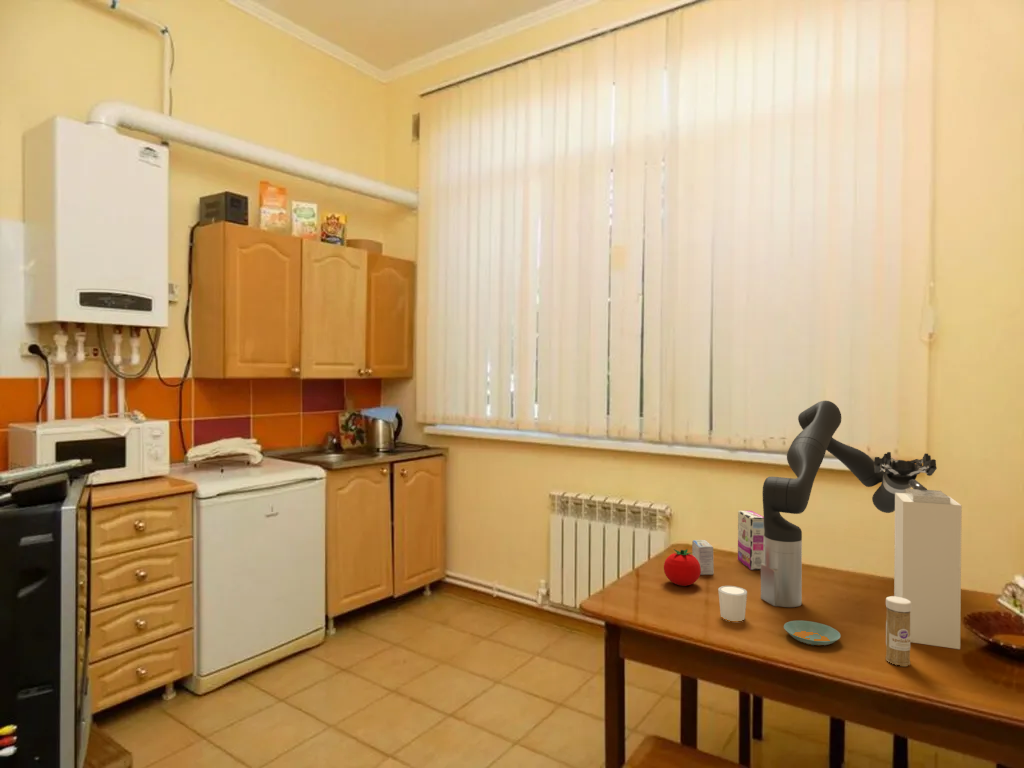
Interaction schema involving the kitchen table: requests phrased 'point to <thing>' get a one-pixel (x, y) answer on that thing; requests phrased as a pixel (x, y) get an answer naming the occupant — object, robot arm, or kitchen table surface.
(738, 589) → the white cup
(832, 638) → the saucer
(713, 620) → the kitchen table surface
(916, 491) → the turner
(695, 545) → the medicine box
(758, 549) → the candy bar box
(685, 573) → the tomato
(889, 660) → the sprinkles bottle
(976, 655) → the kitchen table surface
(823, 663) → the kitchen table surface
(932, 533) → the stand
